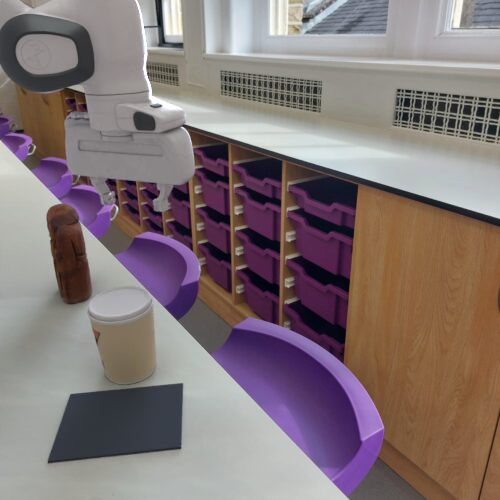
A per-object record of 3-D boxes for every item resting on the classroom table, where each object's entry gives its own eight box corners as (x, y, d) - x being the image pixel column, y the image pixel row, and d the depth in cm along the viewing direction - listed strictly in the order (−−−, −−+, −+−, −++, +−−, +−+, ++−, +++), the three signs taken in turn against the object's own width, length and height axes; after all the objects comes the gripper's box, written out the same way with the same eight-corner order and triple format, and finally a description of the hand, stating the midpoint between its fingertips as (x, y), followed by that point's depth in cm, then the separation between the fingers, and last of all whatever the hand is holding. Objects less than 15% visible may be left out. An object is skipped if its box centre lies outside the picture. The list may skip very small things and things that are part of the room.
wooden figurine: (57, 282, 102) (38, 200, 94) (88, 275, 104) (73, 194, 97) (62, 308, 92) (42, 219, 85) (97, 299, 94) (80, 212, 87)
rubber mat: (47, 463, 59) (47, 461, 59) (70, 395, 70) (70, 393, 70) (181, 448, 60) (180, 446, 60) (182, 384, 71) (182, 382, 71)
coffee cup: (110, 350, 79) (97, 285, 74) (167, 349, 79) (158, 284, 74) (91, 388, 71) (76, 318, 66) (155, 388, 70) (144, 317, 65)
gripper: (47, 114, 69) (65, 207, 74) (172, 119, 61) (182, 222, 67) (77, 107, 74) (92, 194, 80) (196, 111, 67) (203, 207, 72)
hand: (134, 207), depth 73 cm, fingers open, 8 cm apart
